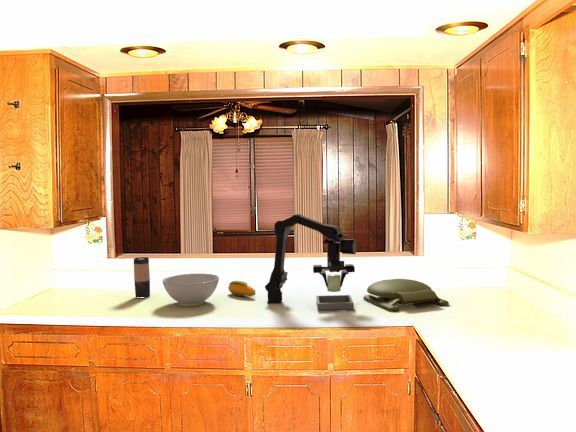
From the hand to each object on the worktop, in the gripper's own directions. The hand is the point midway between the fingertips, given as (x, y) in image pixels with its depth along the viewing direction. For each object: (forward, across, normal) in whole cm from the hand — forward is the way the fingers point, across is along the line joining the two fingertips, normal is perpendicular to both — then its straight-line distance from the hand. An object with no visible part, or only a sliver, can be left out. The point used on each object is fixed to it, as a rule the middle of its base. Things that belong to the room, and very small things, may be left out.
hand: (333, 287), depth 264 cm
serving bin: (+9, 0, 0) cm, 9 cm away
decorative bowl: (+10, -68, +13) cm, 70 cm away
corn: (+10, -44, +27) cm, 53 cm away
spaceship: (+10, +33, +9) cm, 35 cm away
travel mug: (+10, -96, +29) cm, 101 cm away
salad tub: (+2, 0, 0) cm, 2 cm away
